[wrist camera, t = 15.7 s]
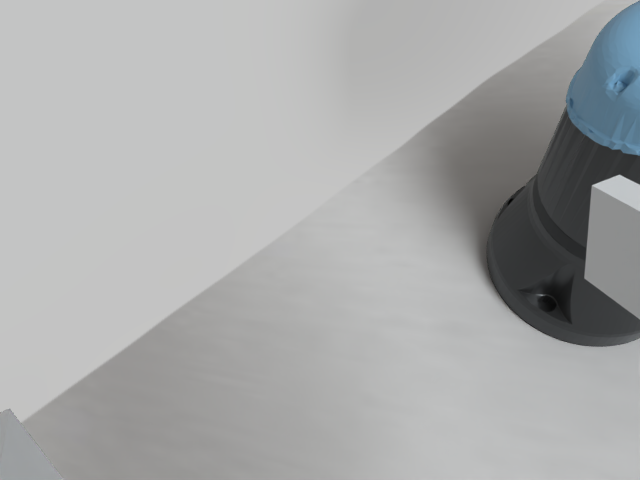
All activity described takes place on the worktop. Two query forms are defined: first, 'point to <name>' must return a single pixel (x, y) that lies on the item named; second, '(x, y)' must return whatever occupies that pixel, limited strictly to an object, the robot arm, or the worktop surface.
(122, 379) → the worktop surface
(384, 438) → the worktop surface
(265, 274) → the worktop surface
